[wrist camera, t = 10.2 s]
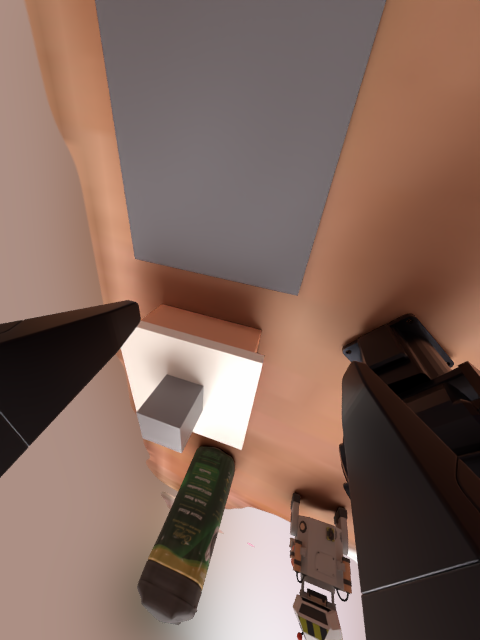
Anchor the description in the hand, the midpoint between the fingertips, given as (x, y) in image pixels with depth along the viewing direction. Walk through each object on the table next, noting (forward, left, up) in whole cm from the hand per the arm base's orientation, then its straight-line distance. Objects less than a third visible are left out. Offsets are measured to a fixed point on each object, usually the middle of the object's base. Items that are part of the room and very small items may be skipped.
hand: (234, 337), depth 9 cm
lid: (-3, +14, -7) cm, 16 cm away
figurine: (-39, +26, -12) cm, 48 cm away
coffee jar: (-20, +34, -12) cm, 41 cm away
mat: (+9, -3, -12) cm, 15 cm away
